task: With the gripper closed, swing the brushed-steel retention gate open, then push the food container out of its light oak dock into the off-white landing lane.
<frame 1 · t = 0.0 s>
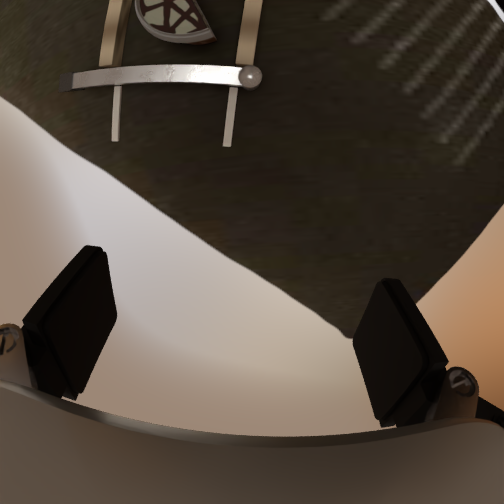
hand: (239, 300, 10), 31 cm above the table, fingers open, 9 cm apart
dock: (181, 27, 28), on the table
food container: (182, 24, 28), on the table
retention gate: (155, 75, 28), point 4 cm above the table, hinge at 0.0°
landing lane: (170, 113, 34), on the table
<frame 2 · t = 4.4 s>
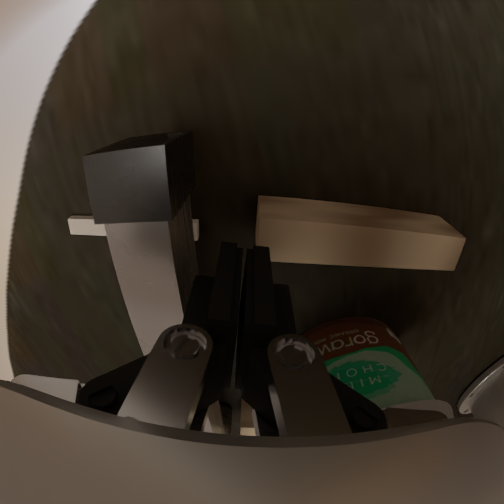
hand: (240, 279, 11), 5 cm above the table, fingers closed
dock: (324, 340, 20), on the table
food container: (330, 337, 20), on the table
retention gate: (195, 375, 15), point 4 cm above the table, hinge at 4.5°, touching gripper
landing lane: (147, 329, 19), on the table
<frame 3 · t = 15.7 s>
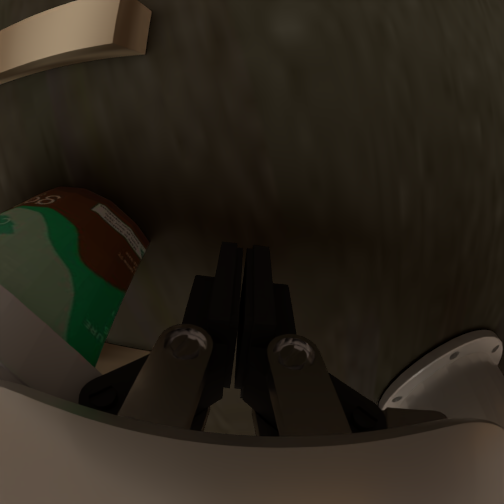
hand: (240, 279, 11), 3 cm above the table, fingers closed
dock: (48, 226, 12), on the table
food container: (56, 225, 13), on the table, touching gripper
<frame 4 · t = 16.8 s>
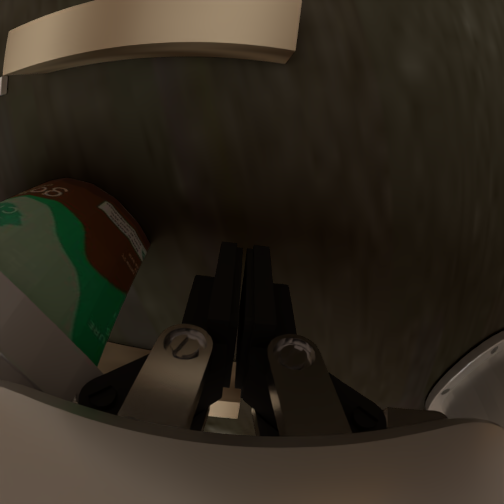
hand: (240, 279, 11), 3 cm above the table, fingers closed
dock: (141, 235, 13), on the table
food container: (58, 215, 13), on the table, touching gripper
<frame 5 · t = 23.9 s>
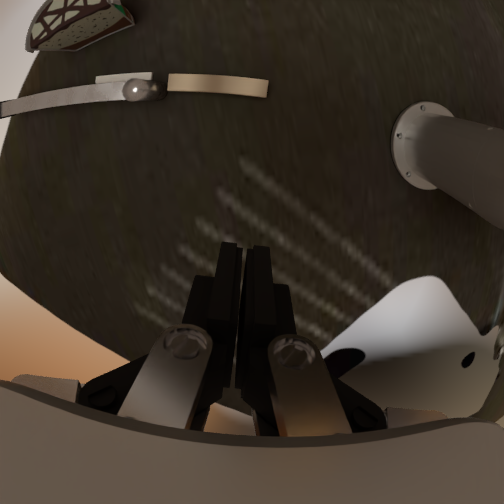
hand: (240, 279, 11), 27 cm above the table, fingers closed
dock: (229, 19, 26), on the table
food container: (102, 20, 24), on the table
retention gate: (66, 97, 26), point 4 cm above the table, hinge at 90.1°
landing lane: (131, 22, 25), on the table
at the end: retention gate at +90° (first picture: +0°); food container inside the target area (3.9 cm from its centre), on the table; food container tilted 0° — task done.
